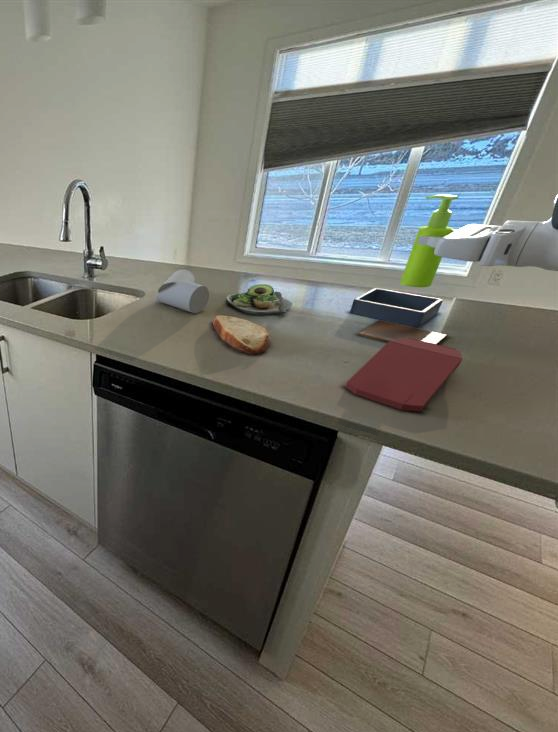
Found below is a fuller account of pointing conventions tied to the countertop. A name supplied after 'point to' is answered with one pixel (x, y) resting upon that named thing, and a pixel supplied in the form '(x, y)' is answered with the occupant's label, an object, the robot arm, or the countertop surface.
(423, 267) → the soap dispenser
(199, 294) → the elbow connector
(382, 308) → the dark blue tray
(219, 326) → the bread slice
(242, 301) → the salad plate
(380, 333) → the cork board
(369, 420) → the countertop surface
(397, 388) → the maroon flat slab
